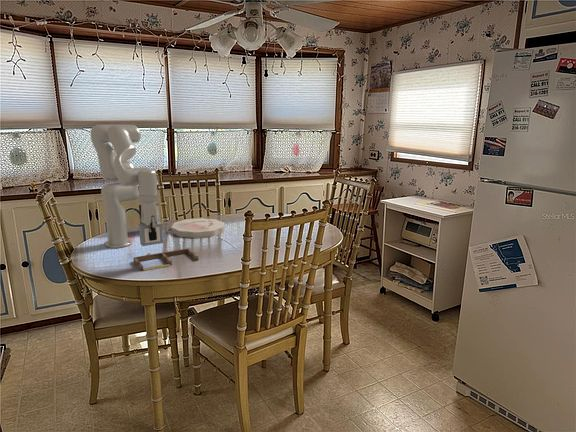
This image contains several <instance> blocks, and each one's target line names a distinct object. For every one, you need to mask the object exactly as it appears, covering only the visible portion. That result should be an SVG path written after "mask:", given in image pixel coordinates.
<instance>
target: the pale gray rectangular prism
mask: <svg viewBox="0 0 576 432" xmlns="http://www.w3.org/2000/svg"><path fill="white" fill-rule="evenodd" d="M150 225H152V223H150ZM151 227H152V226H151ZM163 232H164V231H163V223H162V222H160V221H159V222H158V224H157V225H156V234H157V240H153V241H150V240H149V225H148V226H146V225H145V224H140V223H138V233H139V242H140V243H139V244H140V245H141V247H145V246H146V247H147V246H155V245H160V244H163V243H164V236H163V235H164V233H163Z"/></svg>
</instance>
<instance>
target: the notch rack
mask: <svg viewBox="0 0 576 432" xmlns="http://www.w3.org/2000/svg"><path fill="white" fill-rule="evenodd" d="M184 254H188V255H190V256H191V257H192V258H193V259H194V260H195V261H199V259H200V258H199V255H197V254H196V253H195V251H194V252H193V251H192V250H191V248H182V249H176V250H170V251H164V252H159V253H153V254H152V253H146V254H145V255H140V256H134V257H133V262H134V264H135V265H136V266H137V268H138V269H139V270H140V271H141V272H142V271H143V272H145V271H151V270H152V271H153V270H157V269H163V268H167V267H171V266H172V265H173V263H172V259H170V258H169V257H172V256H177V255H184ZM161 258H162V260H163V261H164V262H166V263H167V264H166V263H165V264H161V265H156V266H151V267H146V268H145V267H144V265H143V264H142V263H141V262H143V261H149V260H150V261H151V260H154V259H155V260H156V259H161Z"/></svg>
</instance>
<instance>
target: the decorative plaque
mask: <svg viewBox="0 0 576 432" xmlns="http://www.w3.org/2000/svg"><path fill="white" fill-rule="evenodd" d="M225 226H226V225H225V222H224V221H221V220H218V219H215V218H214V219H213V218H203V217H201V218H192V219H191V218H186V219H183V220H179V221H176V222H173V224H172V225H171V226H170V227H171V228H170V229H171V234H173V235H176V236H177V237H181V238H190V239H191V238H193V239H200V238H213V237H216V236H218V235H221V234H224V233H225Z"/></svg>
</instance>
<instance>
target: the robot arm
mask: <svg viewBox="0 0 576 432" xmlns="http://www.w3.org/2000/svg"><path fill="white" fill-rule="evenodd" d="M141 134H142V133H141V130H140V129H139V128H138V126H137V125H134V124H97V125H94V126H92V127H91V129H90V140H91V144H92V146H93V147H94V149H95V152H96V154H97V159H98V165H99V169H100V175H101V177H102V179H103V180H104V181H108V182H111V181H113V183H108V184H105V185H103V186H102V187H101V190H100V194H101V198H102V201H103V206H104V211H105V214H104V215H105V223H106V234H107V241H105V243H104V245H105V247H106V248H110V249H117V248H118V249H120V248H125V247H128V246H130V245H132V240H131V239H129V235H128V233H129V232H128V224H127V223H128V222H127V211H126V208H125V207H124V206H123V205H122V204H121V203H122V202H123V203H124V202H128V201H134V200H137V198H138V197H139V203H140V205H141V220H142V222H143V223H144V224H145V225H146V226H148V225H149V240H150V241H153V240H157V234H156V225H157V224H158V216H157V207H156V204H157V202H159V198H158V182H157V181H158V179H157V172H156V170H154V169H151V168H149V167H146V166H145V167H135V166H134V164H133V163H132V162H131V161H129V160H131V159H132V158H133V157H134V156H135V155H136V154H137V148H136V146H135V144H136V143H139V142H140V140H141V139H142V138H141V137H142V135H141ZM110 143H111V144H110ZM114 181H118V182H114ZM150 223H152V225H150ZM151 226H152V227H151Z"/></svg>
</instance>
